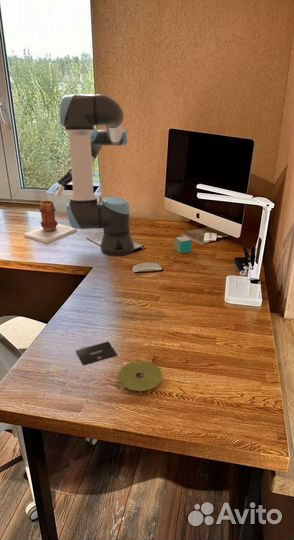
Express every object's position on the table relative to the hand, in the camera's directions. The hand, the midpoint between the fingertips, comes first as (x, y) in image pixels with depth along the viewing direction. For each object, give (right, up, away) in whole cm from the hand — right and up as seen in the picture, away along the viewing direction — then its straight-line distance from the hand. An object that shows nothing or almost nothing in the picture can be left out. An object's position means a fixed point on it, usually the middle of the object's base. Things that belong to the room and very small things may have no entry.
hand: (66, 198), depth 202 cm
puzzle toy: (+57, -27, -21) cm, 67 cm away
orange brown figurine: (-7, -17, -3) cm, 19 cm away
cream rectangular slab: (-7, -18, -2) cm, 19 cm away
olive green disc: (+39, -65, -98) cm, 124 cm away
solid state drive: (+26, -60, -88) cm, 110 cm away
